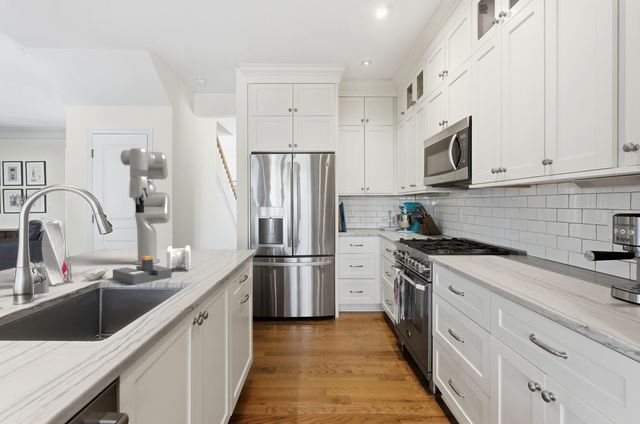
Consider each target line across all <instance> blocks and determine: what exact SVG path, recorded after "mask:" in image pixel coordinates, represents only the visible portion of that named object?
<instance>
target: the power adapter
mask: <svg viewBox="0 0 640 424" xmlns="http://www.w3.org/2000/svg"><path fill="white" fill-rule="evenodd" d="M36 263H37V262H36V261H35V260H34V267H31V268H30V270H31V269H32V272H33V274H34V273H35V272H34V269H35V268H36V269H37V271H38V272H39V273H40V274H42V275H44V276H46V280H45V281H44V282H43V283H41V284H37V285H35V286H34V293H35V294H34V295H42V294H47V293H49V292H50V286H49V277H48V273H46V268H45V266H43V264H42V263H43V262H42V260H40V266H36V265H37V264H36Z"/></svg>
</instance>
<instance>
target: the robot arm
mask: <svg viewBox="0 0 640 424" xmlns="http://www.w3.org/2000/svg"><path fill="white" fill-rule="evenodd" d="M120 161H121V163H122V165H124V166H129V177H130V178H129V179H130V180H129V186H128V188H129V190H128V191H129V192H128V195H129V198H130V199H132V200H133V201H134V206H135V207H134V208H135V212H134V217H135V223H136V232H137V234H136V236H137V237H136V238H137V240H136V241H137V256H136V258H137V260H135V261H134V264H135V265H142V257H144V256H153V264H156V263H157V264H158V263H159V262H161V260H160V259H159V258H158V254H157V253H158V252H157V249H158V248H157V244H158V243H157V229H155V228H154V226H153V224H154V225H155V224H159V225H160V224H167V223H169V221H170V218H171V213H170V212H171V200H170V196H169V194H168V193H167V192H157V187H156V186H155V184H154V183H153V182H152V181H150V180H159V181H160V180H166V179H167V178H168V176H169V171H168V161H167V157H166V155H165V153H163V152H161V151H158V152H157V151H148V150H146V149H145V148H142V147H135V148H133V147H132V148H130V149H123V150H122V152H121V153H120Z"/></svg>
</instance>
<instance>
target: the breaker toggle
mask: <svg viewBox="0 0 640 424" xmlns="http://www.w3.org/2000/svg"><path fill="white" fill-rule="evenodd" d="M141 265H142V271H144V272H148V273H149V275H150V274H153V265H154V263H153V256H144V257H142V264H141Z"/></svg>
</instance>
